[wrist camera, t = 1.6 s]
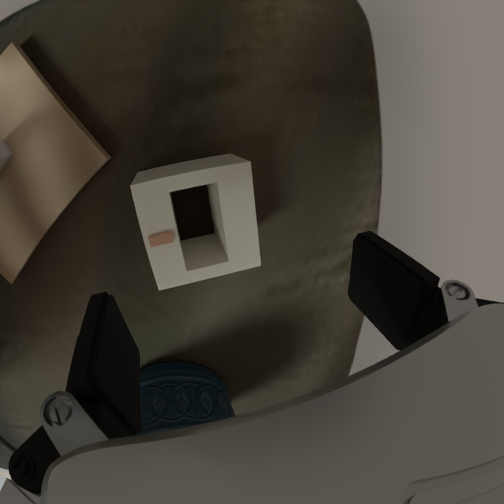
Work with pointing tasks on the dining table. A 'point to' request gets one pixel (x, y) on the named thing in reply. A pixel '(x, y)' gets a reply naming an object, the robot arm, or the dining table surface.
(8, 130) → the base
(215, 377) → the canister
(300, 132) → the dining table surface
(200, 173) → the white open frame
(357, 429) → the robot arm
